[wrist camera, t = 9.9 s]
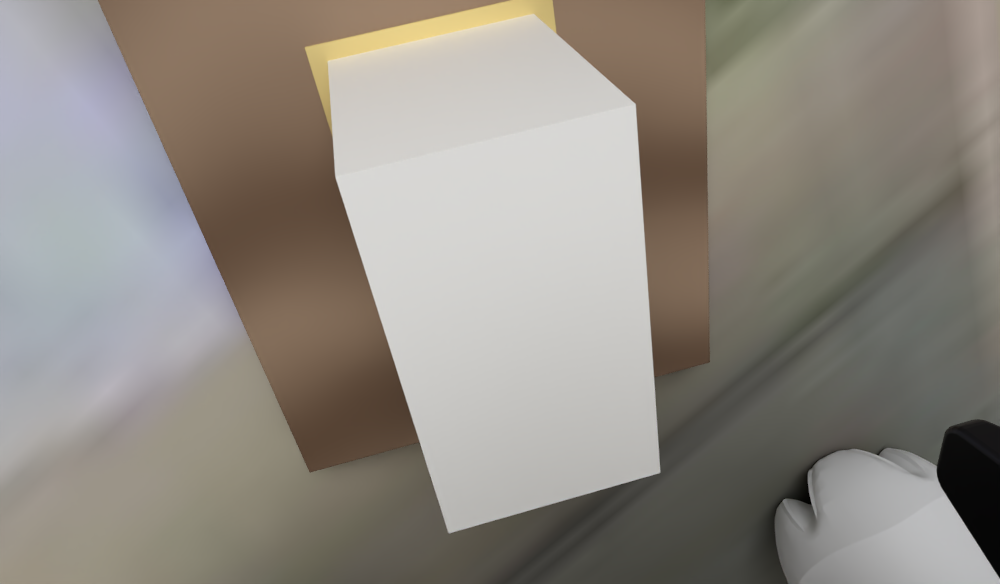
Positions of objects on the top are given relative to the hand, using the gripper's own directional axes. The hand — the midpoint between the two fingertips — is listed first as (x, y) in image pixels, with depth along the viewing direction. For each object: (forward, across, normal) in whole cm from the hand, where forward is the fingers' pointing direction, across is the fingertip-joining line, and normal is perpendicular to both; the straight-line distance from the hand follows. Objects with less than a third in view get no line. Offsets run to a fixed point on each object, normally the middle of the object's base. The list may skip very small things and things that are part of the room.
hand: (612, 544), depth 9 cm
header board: (+12, 0, 0) cm, 12 cm away
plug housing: (+10, 0, 0) cm, 10 cm away
